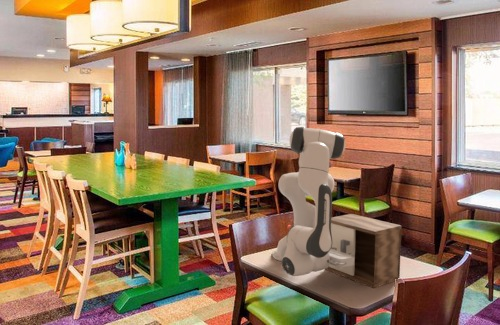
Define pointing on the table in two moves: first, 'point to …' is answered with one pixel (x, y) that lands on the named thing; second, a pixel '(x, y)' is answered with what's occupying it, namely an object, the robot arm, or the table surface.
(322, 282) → the table surface
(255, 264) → the table surface
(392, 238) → the cabinet
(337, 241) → the sliding door
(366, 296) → the table surface
